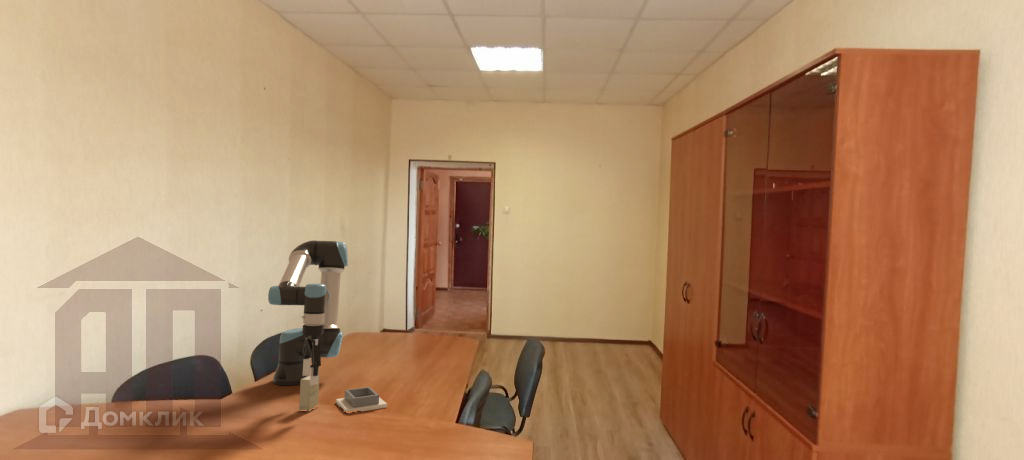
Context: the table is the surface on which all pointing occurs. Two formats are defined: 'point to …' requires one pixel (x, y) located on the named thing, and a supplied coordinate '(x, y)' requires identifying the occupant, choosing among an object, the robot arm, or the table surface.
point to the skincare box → (308, 394)
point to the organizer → (361, 400)
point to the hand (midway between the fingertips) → (310, 379)
